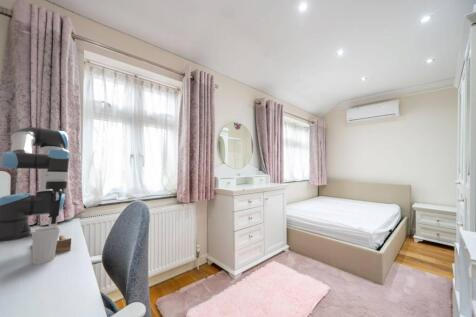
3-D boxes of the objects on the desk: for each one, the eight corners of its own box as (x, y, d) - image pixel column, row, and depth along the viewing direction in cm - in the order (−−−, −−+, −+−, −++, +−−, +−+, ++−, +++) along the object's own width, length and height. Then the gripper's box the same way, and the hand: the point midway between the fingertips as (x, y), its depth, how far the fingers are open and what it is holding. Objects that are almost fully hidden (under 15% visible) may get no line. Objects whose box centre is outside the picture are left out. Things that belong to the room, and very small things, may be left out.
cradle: (33, 244, 94) (34, 234, 94) (62, 239, 102) (62, 229, 102) (37, 257, 79) (38, 244, 80) (70, 250, 87) (71, 238, 88)
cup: (24, 266, 71) (27, 233, 72) (34, 258, 78) (37, 228, 79) (53, 262, 75) (56, 230, 76) (60, 255, 82) (62, 226, 83)
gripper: (44, 180, 96) (39, 229, 93) (47, 181, 87) (42, 235, 85) (64, 180, 101) (60, 226, 99) (69, 180, 93) (65, 231, 91)
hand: (52, 230), depth 92 cm, fingers closed
